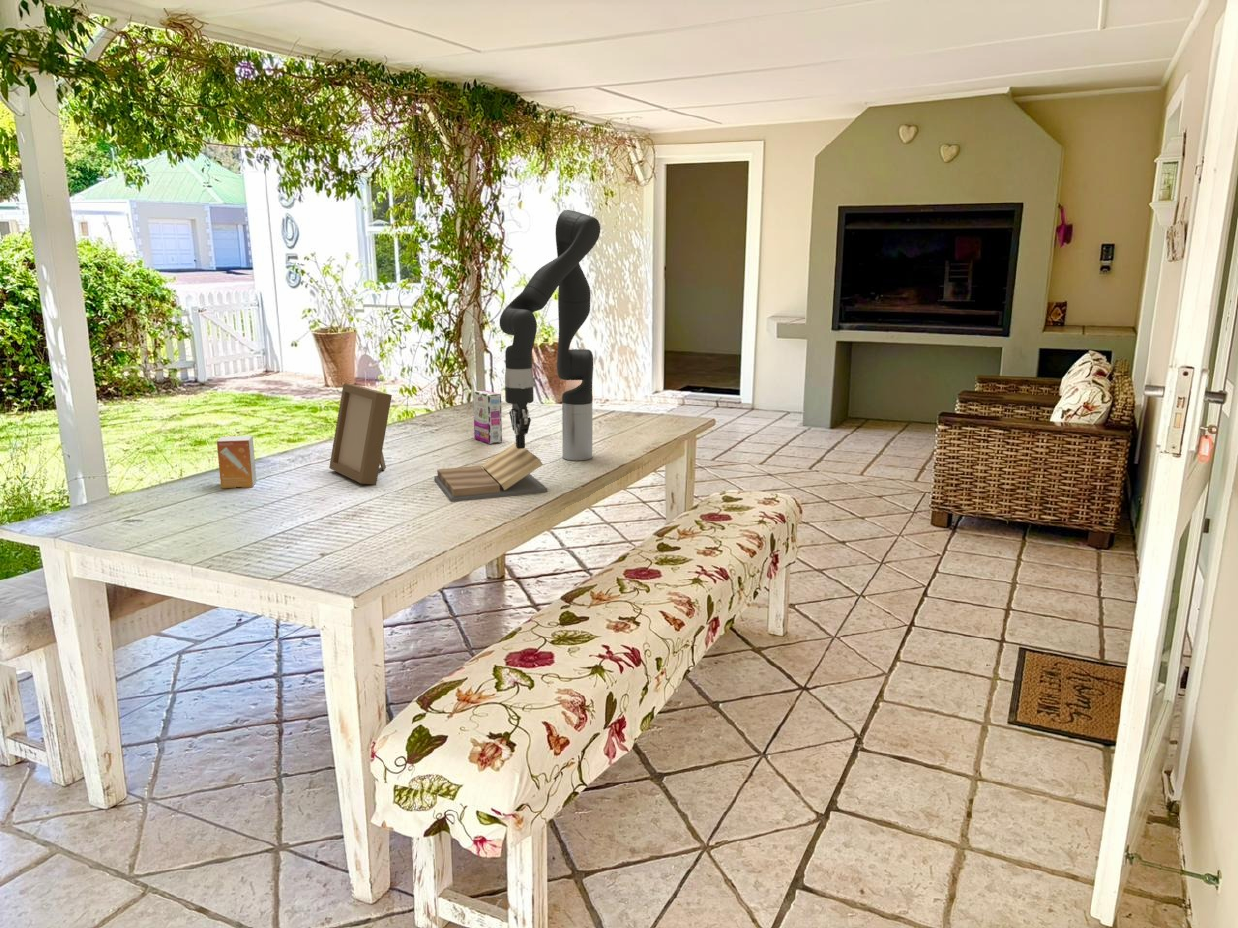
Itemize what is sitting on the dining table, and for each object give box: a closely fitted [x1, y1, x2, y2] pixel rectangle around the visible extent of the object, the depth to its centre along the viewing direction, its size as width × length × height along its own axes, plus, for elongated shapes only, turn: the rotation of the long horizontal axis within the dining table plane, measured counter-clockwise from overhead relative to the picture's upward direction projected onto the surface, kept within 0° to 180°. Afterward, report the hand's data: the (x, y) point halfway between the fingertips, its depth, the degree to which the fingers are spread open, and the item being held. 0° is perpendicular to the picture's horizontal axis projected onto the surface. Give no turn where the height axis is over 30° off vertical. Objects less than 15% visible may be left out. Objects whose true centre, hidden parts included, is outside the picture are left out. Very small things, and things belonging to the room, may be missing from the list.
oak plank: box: [480, 442, 543, 490], centre depth 236 cm, size 22×12×2 cm
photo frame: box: [329, 383, 393, 486], centre depth 242 cm, size 15×22×25 cm
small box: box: [216, 435, 257, 489], centre depth 232 cm, size 8×6×13 cm
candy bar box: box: [472, 390, 503, 445], centre depth 288 cm, size 11×5×16 cm, turn 37°
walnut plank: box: [436, 465, 500, 497], centre depth 232 cm, size 22×12×2 cm, turn 22°
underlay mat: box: [433, 473, 548, 502], centre depth 235 cm, size 23×26×1 cm
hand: (520, 448), depth 236 cm, fingers closed
